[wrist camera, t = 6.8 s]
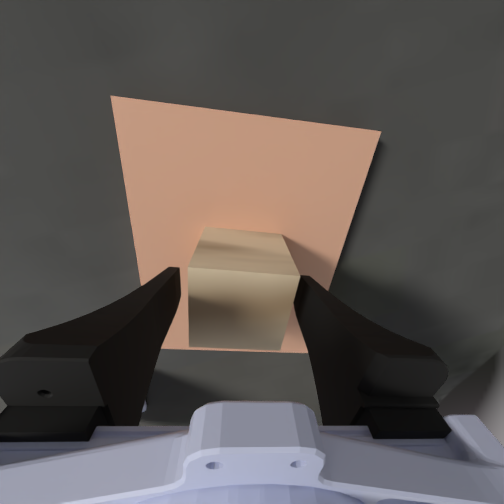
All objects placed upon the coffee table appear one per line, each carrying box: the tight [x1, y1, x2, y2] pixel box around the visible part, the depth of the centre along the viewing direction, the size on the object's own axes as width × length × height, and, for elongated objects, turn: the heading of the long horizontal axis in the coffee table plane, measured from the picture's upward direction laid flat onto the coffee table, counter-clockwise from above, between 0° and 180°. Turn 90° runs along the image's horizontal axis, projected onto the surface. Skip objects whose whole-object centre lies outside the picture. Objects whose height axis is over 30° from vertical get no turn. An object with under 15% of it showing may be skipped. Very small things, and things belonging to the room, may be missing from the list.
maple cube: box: [188, 227, 300, 351], centre depth 13 cm, size 5×5×5 cm
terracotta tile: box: [111, 96, 381, 353], centre depth 15 cm, size 18×14×1 cm
